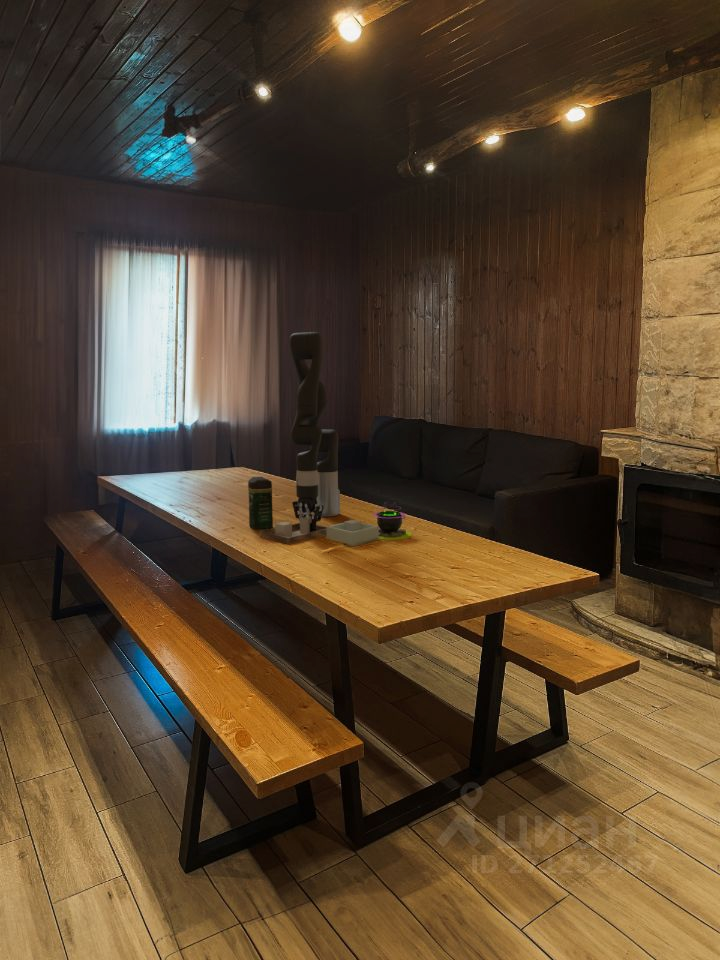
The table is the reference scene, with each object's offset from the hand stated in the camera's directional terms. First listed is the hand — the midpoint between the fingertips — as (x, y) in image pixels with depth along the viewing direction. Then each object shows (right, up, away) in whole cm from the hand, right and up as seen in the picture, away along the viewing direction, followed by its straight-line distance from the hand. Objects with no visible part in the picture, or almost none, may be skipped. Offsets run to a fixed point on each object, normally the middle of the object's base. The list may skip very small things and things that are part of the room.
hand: (308, 532), depth 243 cm
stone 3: (+15, -1, -6) cm, 16 cm away
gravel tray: (-4, -1, -4) cm, 6 cm away
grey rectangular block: (0, 0, 0) cm, 0 cm away
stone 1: (-8, -1, -8) cm, 11 cm away
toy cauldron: (+28, -1, -1) cm, 28 cm away
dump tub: (+15, -2, -8) cm, 18 cm away
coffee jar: (-17, 0, +9) cm, 20 cm away
